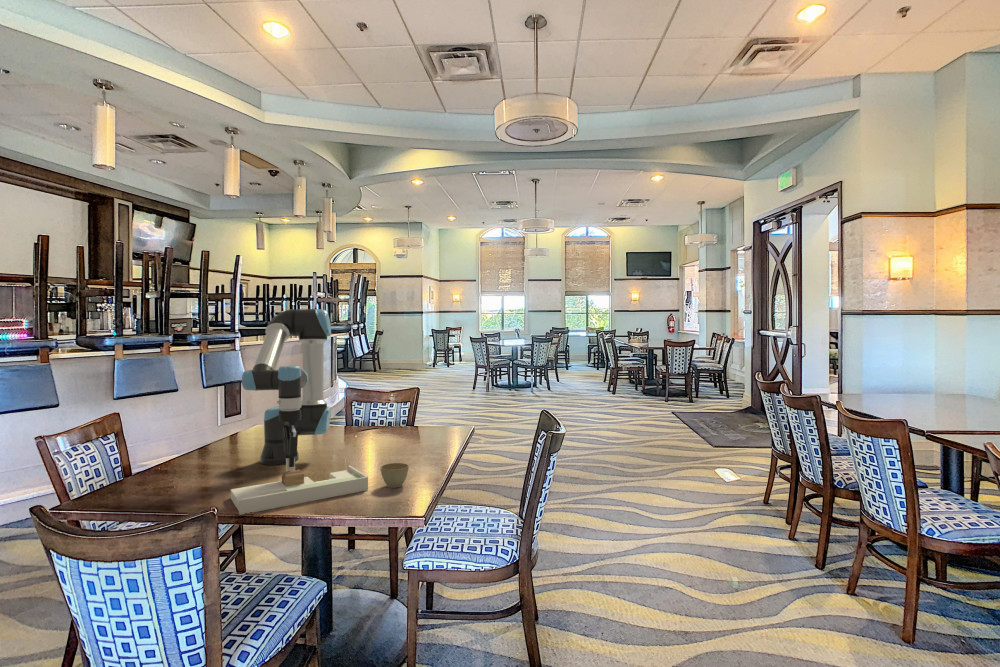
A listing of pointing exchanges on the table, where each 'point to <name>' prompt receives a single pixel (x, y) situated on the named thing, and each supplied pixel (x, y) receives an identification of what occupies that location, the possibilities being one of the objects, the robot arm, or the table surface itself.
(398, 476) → the flower pot
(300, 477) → the block
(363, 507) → the table surface
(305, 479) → the tray
